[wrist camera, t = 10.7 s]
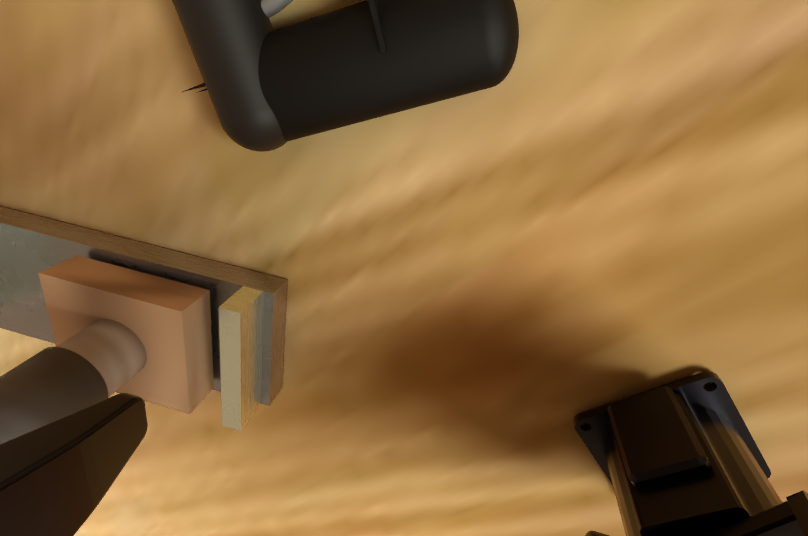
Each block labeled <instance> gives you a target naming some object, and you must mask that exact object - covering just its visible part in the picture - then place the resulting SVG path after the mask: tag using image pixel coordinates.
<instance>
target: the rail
mask: <svg viewBox="0 0 808 536" xmlns="http://www.w3.org/2000/svg"><path fill="white" fill-rule="evenodd" d="M77 255H78V256H82V257H86V258H89V259H93V260H97V261H101V262H105V263H108V264H112V265H116V266H120V267H124V268H127V269H131V270H135V271H139V272H143V273H146V274H150V275H154V276H158V277H162V278H165V279H169V280H173V281H177V282H181V283H184V284H188V285H192V286H196V287H200V288H203V289H207V290H210V309H211V334H212V358H213V382H214V387H213V389H214V390H217V391H220V392H221V403H222V426H225V427H229V428H232V429H235V430H239V431H241V430H242V429H243V427H244V426H245V425H246V423H247V422H248V420H249V419H250V418H251V416H252V415H253V413H254V412H255V411H256V409H257V408H258V406H259V405H260V404H261V403H262V404H265V405H269V406H270V404H271V403H272V401H273V400H274V398H275V397H276V395H277V394H278V393H279V391H280V390H281V388H282V381H283V361H284V342H285V323H286V303H287V284H288V279H284V278H280V277H276V276H272V275H268V274H264V273H260V272H257V271H253V270H249V269H245V268H241V267H237V266H233V265H229V264H225V263H221V262H217V261H213V260H210V259H206V258H202V257H198V256H194V255H190V254H186V253H182V252H178V251H174V250H170V249H166V248H162V247H159V246H155V245H151V244H147V243H143V242H139V241H135V240H131V239H127V238H123V237H119V236H115V235H111V234H108V233H104V232H100V231H96V230H92V229H88V228H84V227H80V226H76V225H72V224H68V223H64V222H61V221H57V220H53V219H49V218H45V217H41V216H37V215H33V214H29V213H25V212H21V211H17V210H13V209H10V208H6V207H2V206H0V328H3V329H7V330H10V331H13V332H17V333H20V334H24V335H27V336H31V337H34V338H38V339H41V340H45V341H48V342H51V343H55V340H54V336H53V332H52V327H51V323H50V319H49V315H48V311H47V307H46V303H45V298H44V294H43V290H42V286H41V282H40V278H39V274H38V273H39V272H41V271H43V270H46V269H48V268H50V267H52V266H55V265H57V264H59V263H61V262H63V261H66V260H68V259H70V258H72V257H74V256H77Z"/></svg>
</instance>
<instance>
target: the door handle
mask: <svg viewBox="0 0 808 536" xmlns="http://www.w3.org/2000/svg"><path fill="white" fill-rule="evenodd" d="M172 1H173V3H174V6H175V8H176V11H177V14H178V16H179V19H180V21H181V24H182V26H183V29H184V31H185V34H186V36H187V39H188V42H189V44H190V47H191V49H192V52H193V54H194V57H195V59H196V62H197V64H198V67H199V69H200V72H201V75H202V77H203V80H204V82H205V83H203V84H200V85H198V86H195V87H193V88H190V89H188V90H192V89H196V88H200V87H204V86H206V87H207V89H204V90H201V91H205V90H208V92H209V95H210V97H211V100H212V103H213V105H214V108H215V110H216V113H217V115H218V118H219V120H220V123H221V125H222V127H223V129H224V130H225V132H226V133H227V134H228V136H229V137H230V138H231V139H232V140H233V141H235V142H236V143H237V144H239V145H241V146H242V147H244V148H247V149H250V150H254V151H270V150H274V149H277V148H279V147H281V146H282V145H284V144H285V143H286V142H287V141H290V140H294V139H298V138H302V137H305V136H309V135H313V134H317V133H320V132H324V131H328V130H332V129H336V128H339V127H343V126H347V125H351V124H354V123H358V122H362V121H366V120H370V119H373V118H377V117H381V116H385V115H388V114H392V113H396V112H400V111H404V110H407V109H411V108H415V107H419V106H422V105H426V104H430V103H434V102H437V101H441V100H445V99H449V98H453V97H456V96H460V95H464V94H468V93H471V92H475V91H479V90H483V89H487V88H490V87H494V86H496V85H498V84H499V83H500V82H502V81H503V80H504V79H505V77H506V76H507V75H508V73H509V72H510V70H511V68H512V66H513V63H514V60H515V57H516V53H517V48H518V39H519V27H518V17H517V12H516V7H515V4H514V1H513V0H366V1H363V2H360V3H357V4H354V5H351V6H348V7H345V8H342V9H339V10H336V11H333V12H330V13H327V14H324V15H321V16H318V17H315V18H312V19H309V20H306V21H303V22H300V23H297V24H294V25H291V26H288V27H285V28H282V29H279V30H276V31H273V29H272V26H271V23H270V20H269V17H271V16H273V15H275V14H276V13H278V12H280V11H281V10H282V9H284V8H285V7H286V6H287V5H288V4H289V3H291V2H292V1H293V0H172ZM188 90H185V91H188ZM201 91H199V92H201ZM183 92H184V91H183ZM196 93H197V92H196Z"/></svg>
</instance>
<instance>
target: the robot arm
mask: <svg viewBox="0 0 808 536" xmlns="http://www.w3.org/2000/svg"><path fill="white" fill-rule="evenodd" d="M708 382H712V384H710V385H706V386H704V385H705V384H706V383H708ZM583 423H589V424H587V425H582V424H583ZM574 425H575V429H576V431H577V432H578V434H579V435H580V437H581V438H582V440H583V441H584V443H585V444H586V446H587V447H588V449H589V450H590V452H591V453H592V455H593V456H594V458H595V459H596V461H597V462H598V464H599V465H600V467H601V468H602V469H603V471H604V472H605V474H606V475H607V477H608V478H609V480H610V481H611V483H612V484H613V487H614V491H615V495H616V499H617V503H618V506H619V510H620V514H621V518H622V522H623V526H624V530H625V534H626V536H808V494H807V493H806V492H805V491H804V490H803V491H800V492H798V493H796V494H793V495H791V496H788V497H786V498H787V500H788V501H786V502H782V501H781V499H780V498H779V496H778V494H777V493H776V491H775V490H774V488H773V487H772V485H771V483H770V482H769V480H768V478H769V477H770V475H771V471H770V469H769V467H768V466H767V464H766V462H765V460H764V458H763V456H762V454H761V453H760V451H759V449H758V447H757V445H756V443H755V441H754V440H753V438H752V436H751V434H750V432H749V430H748V428H747V427H746V425H745V423H744V421H743V419H742V417H741V416H740V414H739V412H738V410H737V408H736V406H735V404H734V403H733V401H732V399H731V397H730V395H729V393H728V391H727V390H726V388H725V386H724V384H723V382H722V381H721V379H720V378H719V377H718V375H717V374H715V373H713V372H702V373H699V374H696V375H693V376H690V377H687V378H684V379H681V380H678V381H675V382H672V383H669V384H666V385H663V386H660V387H657V388H654V389H651V390H648V391H645V392H642V393H639V394H636V395H633V396H630V397H627V398H625V399H622V400H619V401H616V402H613V403H610V404H607V405H604V406H601V407H598V408H595V409H592V410H589V411H586V412H583V413H580V414H578V415H576V416H575V418H574ZM147 426H148V425H147V417H146V410H145V403H144V400H143V399H142V398H141V397H139V396H135V395H132V394H129V393H120V394H117V395H115V396H112V397H110V398H108V399H105V400H103V401H101V402H98V403H96V404H94V405H91V406H89V407H87V408H84V409H82V410H80V411H77V412H75V413H72V414H70V415H68V416H65V417H63V418H61V419H58V420H56V421H54V422H51V423H49V424H47V425H44V426H42V427H40V428H37V429H35V430H32V431H30V432H28V433H25V434H23V435H21V436H18V437H16V438H14V439H11V440H9V441H7V442H4V443H2V444H0V536H73V535H74V534H75V533H76V532H77V531H78V529H79V528H80V527H81V526H82V524H83V523H84V522H85V521H86V519H87V518H88V517H89V516H90V514H91V513H92V512H93V511H94V509H95V508H96V507H97V505H98V504H99V502H100V501H101V500H102V498H103V497H104V495H105V494H106V492H107V491H108V489H109V488H110V486H111V485H112V484H113V482H114V481H115V479H116V478H117V476H118V475H119V473H120V472H121V470H122V469H123V467H124V466H125V464H126V463H127V461H128V460H129V459H130V457H131V456H132V454H133V453H134V451H135V450H136V448H137V447H138V445H139V444H140V442H141V441H142V439H143V438H144V436H145V434H146V431H147ZM585 536H609V535H605V534H602V533H599V532H595V531H589V532H588V533H587V534H586V535H585Z"/></svg>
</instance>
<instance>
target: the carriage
mask: <svg viewBox="0 0 808 536" xmlns="http://www.w3.org/2000/svg"><path fill="white" fill-rule="evenodd" d="M38 274H39V278H40V282H41V286H42V290H43V294H44V298H45V303H46V307H47V311H48V315H49V319H50V323H51V327H52V332H53V336H54V340H55V344H56V347H49V348H46V349H44V350H43V351H41V352H39V353H38V354H36V355H35V356H33V357H31V358H30V359H28V360H27V361H25V362H23V363H22V364H20V365H19V366H17V367H15V368H14V369H12V370H11V371H9V372H7V373H6V374H4V375H3V376H1V377H0V444H2V443H4V442H7V441H9V440H11V439H14V438H16V437H18V436H21V435H23V434H25V433H28V432H30V431H32V430H35V429H37V428H40V427H42V426H44V425H47V424H49V423H51V422H54V421H56V420H58V419H61V418H63V417H65V416H68V415H70V414H72V413H75V412H77V411H80V410H82V409H84V408H87V407H89V406H91V405H94V404H96V403H98V402H101V401H103V400H105V399H108V398H109V397H110V396H111V395H112V394H113V393H115V392H117V393H129V394H132V395H135V396H139V397H141V398H142V399H143V400H144V401H147V402H151V403H154V404H157V405H161V406H164V407H167V408H171V409H174V410H177V411H181V412H184V413H188V414H190V413H191V412H192V411H193V410H194V409H195V408H196V406H197V405H198V404H199V403H200V402H201V401H202V400H203V399H204V398H205V396H206V395H207V394H208V393H209V392H210V391H211V390H212V389H213V387H214V382H213V358H212V334H211V309H210V290H207V289H203V288H200V287H196V286H192V285H188V284H184V283H181V282H177V281H173V280H169V279H165V278H162V277H158V276H154V275H150V274H146V273H143V272H139V271H135V270H131V269H127V268H124V267H120V266H116V265H112V264H108V263H105V262H101V261H97V260H93V259H89V258H86V257H82V256H78V255H77V256H74V257H72V258H70V259H68V260H66V261H63V262H61V263H59V264H57V265H55V266H52V267H50V268H48V269H46V270H43V271H41V272H39V273H38Z"/></svg>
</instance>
